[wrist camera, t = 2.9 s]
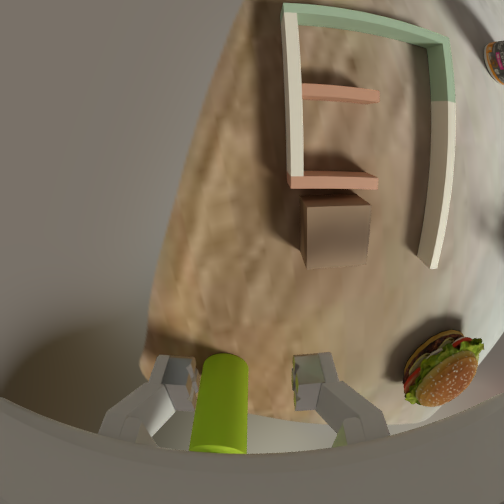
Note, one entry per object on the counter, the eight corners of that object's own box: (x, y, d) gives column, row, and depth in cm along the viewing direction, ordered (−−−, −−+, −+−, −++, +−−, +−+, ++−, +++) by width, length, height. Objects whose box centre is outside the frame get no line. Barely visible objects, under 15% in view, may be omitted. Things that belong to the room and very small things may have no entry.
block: (299, 195, 25) (307, 207, 22) (355, 193, 25) (371, 205, 22) (299, 250, 28) (306, 269, 24) (352, 246, 27) (366, 265, 24)
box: (280, 15, 18) (283, 2, 15) (432, 42, 18) (448, 37, 15) (286, 262, 28) (290, 277, 25) (423, 256, 28) (436, 268, 25)
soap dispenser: (263, 369, 35) (268, 515, 16) (222, 386, 36) (210, 519, 18) (235, 343, 33) (225, 506, 14) (194, 363, 34) (167, 507, 16)
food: (440, 382, 38) (457, 413, 31) (383, 386, 37) (398, 425, 30) (482, 323, 33) (506, 354, 26) (427, 319, 32) (455, 358, 24)
